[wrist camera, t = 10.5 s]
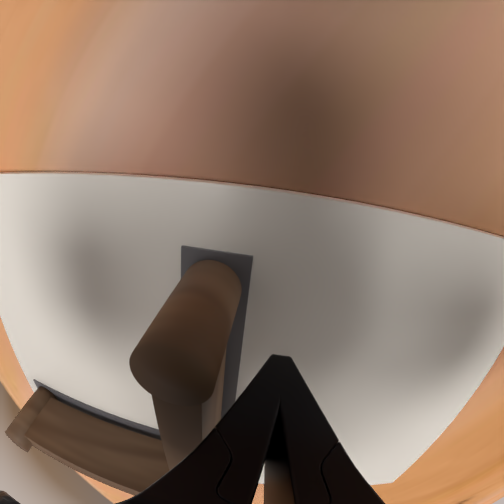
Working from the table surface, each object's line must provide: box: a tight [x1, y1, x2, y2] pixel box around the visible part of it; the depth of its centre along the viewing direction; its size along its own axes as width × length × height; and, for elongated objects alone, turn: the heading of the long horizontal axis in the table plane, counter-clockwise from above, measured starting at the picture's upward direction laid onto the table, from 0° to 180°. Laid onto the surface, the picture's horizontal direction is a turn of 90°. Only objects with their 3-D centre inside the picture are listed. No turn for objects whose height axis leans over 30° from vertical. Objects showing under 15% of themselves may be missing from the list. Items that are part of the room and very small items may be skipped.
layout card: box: [0, 172, 504, 485], centre depth 12 cm, size 18×26×1 cm
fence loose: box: [129, 260, 242, 471], centre depth 9 cm, size 2×11×4 cm, turn 174°
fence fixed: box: [5, 386, 169, 495], centre depth 12 cm, size 2×13×5 cm, turn 84°
